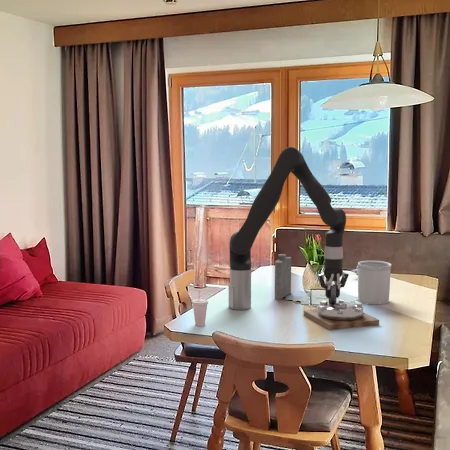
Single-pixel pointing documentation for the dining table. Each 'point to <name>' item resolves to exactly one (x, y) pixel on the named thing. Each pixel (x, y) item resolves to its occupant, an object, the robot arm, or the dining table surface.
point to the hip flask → (282, 276)
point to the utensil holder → (374, 282)
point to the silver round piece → (339, 308)
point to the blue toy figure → (355, 270)
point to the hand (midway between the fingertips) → (332, 297)
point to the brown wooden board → (340, 321)
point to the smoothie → (200, 310)
